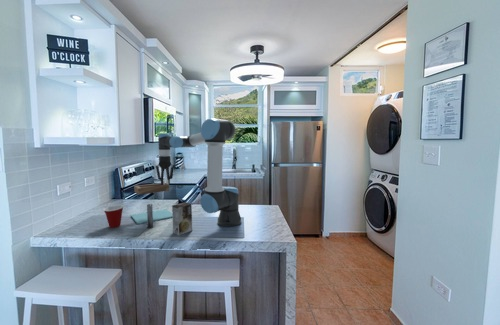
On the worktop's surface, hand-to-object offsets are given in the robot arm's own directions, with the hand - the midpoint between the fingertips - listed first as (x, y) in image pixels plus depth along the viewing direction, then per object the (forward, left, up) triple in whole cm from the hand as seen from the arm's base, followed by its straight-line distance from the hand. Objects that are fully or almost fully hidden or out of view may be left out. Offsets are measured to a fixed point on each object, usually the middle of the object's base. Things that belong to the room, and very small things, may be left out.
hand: (165, 189), depth 166 cm
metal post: (-20, +16, -18) cm, 31 cm away
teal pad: (0, +9, -18) cm, 20 cm away
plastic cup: (-5, +33, -18) cm, 38 cm away
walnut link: (0, +9, 0) cm, 9 cm away
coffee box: (-38, +3, -18) cm, 42 cm away
